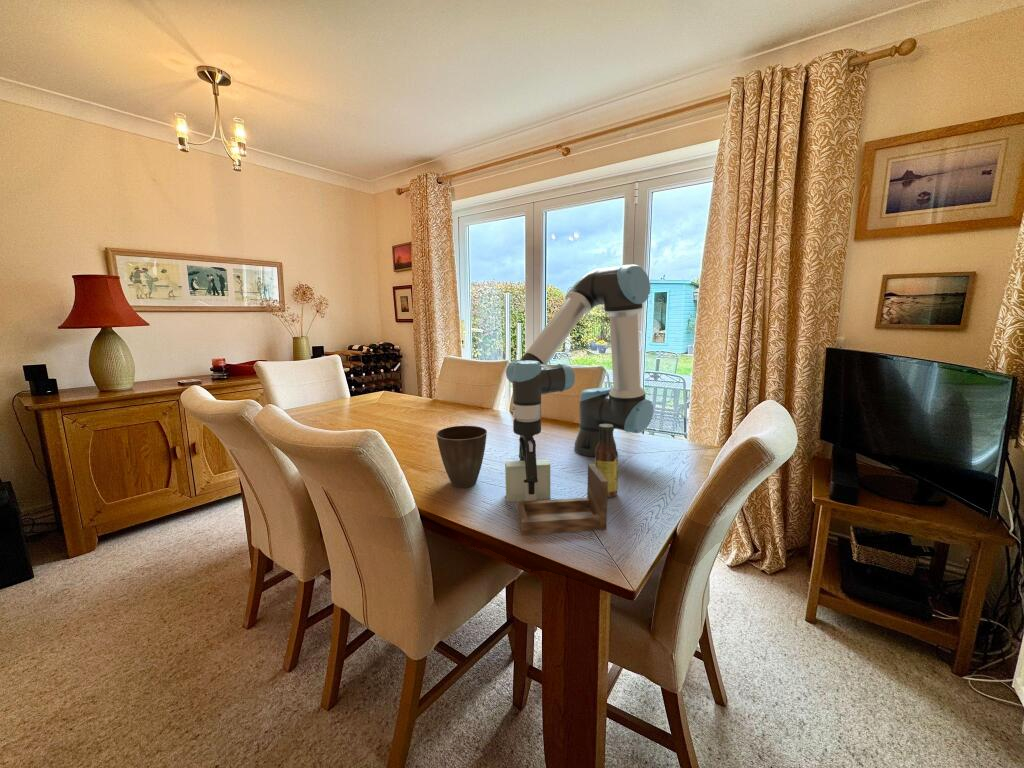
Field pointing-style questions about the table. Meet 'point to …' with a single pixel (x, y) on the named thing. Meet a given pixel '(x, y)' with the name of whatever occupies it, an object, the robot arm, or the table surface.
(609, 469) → the sauce bottle
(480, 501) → the table surface
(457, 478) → the plant pot
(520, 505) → the wooden l-shaped stand
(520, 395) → the robot arm
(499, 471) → the table surface
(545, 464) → the cream rectangular block
